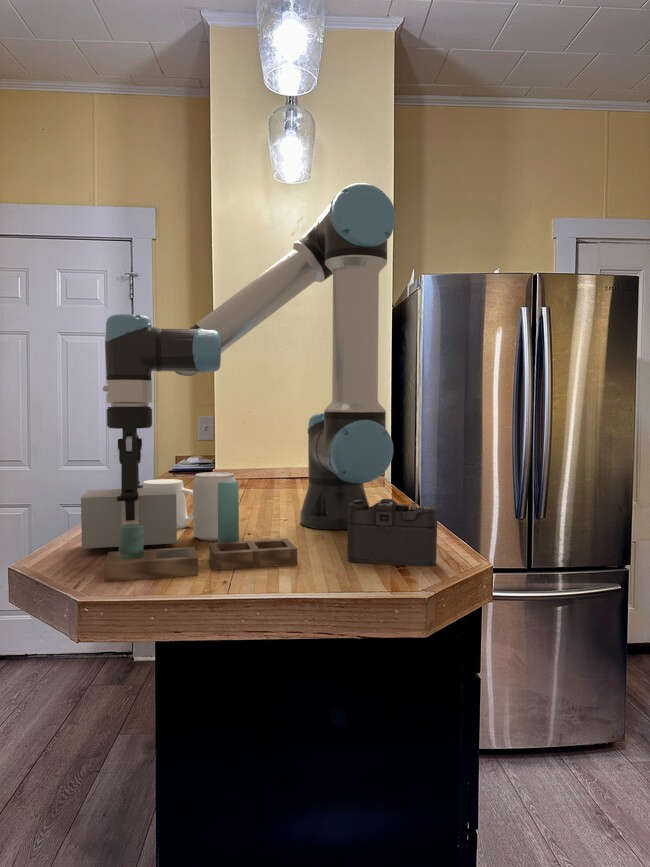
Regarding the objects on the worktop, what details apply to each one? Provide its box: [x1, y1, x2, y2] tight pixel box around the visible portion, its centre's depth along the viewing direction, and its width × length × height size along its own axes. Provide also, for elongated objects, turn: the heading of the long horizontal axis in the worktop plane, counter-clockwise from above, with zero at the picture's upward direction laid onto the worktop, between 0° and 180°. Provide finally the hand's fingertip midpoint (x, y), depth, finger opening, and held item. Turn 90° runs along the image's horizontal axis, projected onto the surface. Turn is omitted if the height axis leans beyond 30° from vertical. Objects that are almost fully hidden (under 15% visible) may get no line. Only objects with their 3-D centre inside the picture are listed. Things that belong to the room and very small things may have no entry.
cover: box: [80, 487, 178, 550], centre depth 109 cm, size 15×10×8 cm, turn 106°
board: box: [104, 524, 199, 582], centre depth 94 cm, size 13×8×7 cm, turn 106°
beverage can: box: [192, 471, 237, 542], centre depth 118 cm, size 8×8×12 cm
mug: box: [142, 478, 193, 530], centre depth 128 cm, size 12×9×8 cm
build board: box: [208, 538, 299, 571], centre depth 100 cm, size 13×8×2 cm, turn 106°
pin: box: [217, 480, 240, 543], centre depth 106 cm, size 4×4×12 cm
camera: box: [346, 498, 438, 567], centre depth 103 cm, size 14×11×10 cm
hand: (131, 532), depth 109 cm, fingers closed on cover, 10 cm apart
